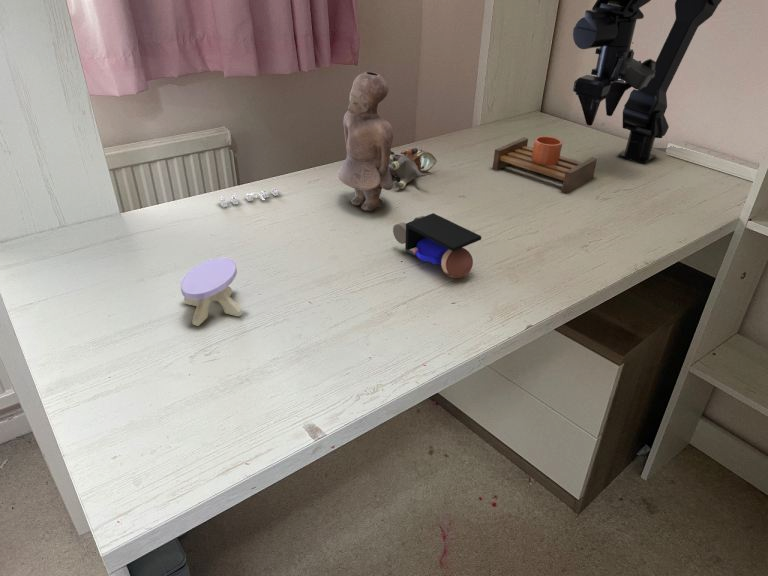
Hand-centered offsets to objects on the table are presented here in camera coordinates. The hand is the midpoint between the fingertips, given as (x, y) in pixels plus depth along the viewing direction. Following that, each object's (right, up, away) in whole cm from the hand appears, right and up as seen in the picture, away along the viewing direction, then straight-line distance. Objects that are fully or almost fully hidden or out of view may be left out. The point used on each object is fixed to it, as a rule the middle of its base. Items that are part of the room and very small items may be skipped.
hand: (599, 120), depth 132 cm
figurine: (-42, -12, +1) cm, 44 cm away
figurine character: (-38, -32, -30) cm, 58 cm away
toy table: (-71, -39, -43) cm, 92 cm away
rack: (-11, -11, +4) cm, 16 cm away
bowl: (-11, -8, +2) cm, 14 cm away
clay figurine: (-50, -20, -13) cm, 55 cm away
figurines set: (-72, -19, -13) cm, 76 cm away
